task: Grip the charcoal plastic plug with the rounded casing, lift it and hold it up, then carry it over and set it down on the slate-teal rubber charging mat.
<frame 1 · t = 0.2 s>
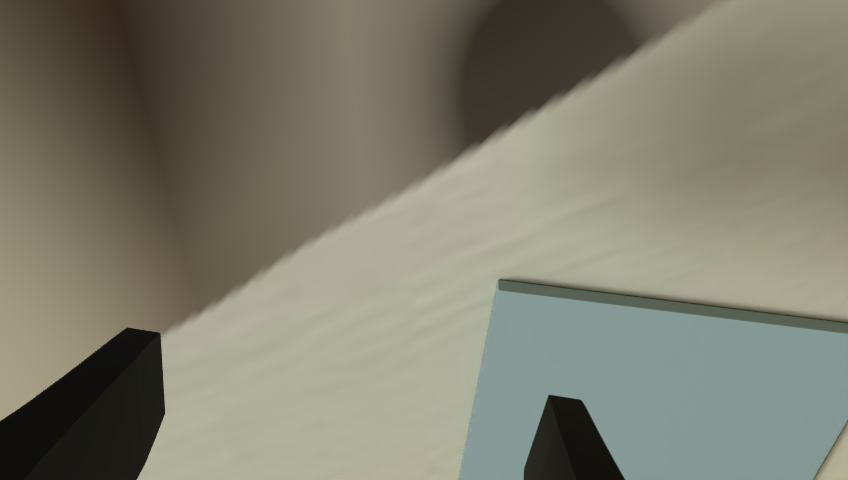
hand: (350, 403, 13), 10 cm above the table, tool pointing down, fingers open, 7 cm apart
charging mat: (640, 439, 27), on the table
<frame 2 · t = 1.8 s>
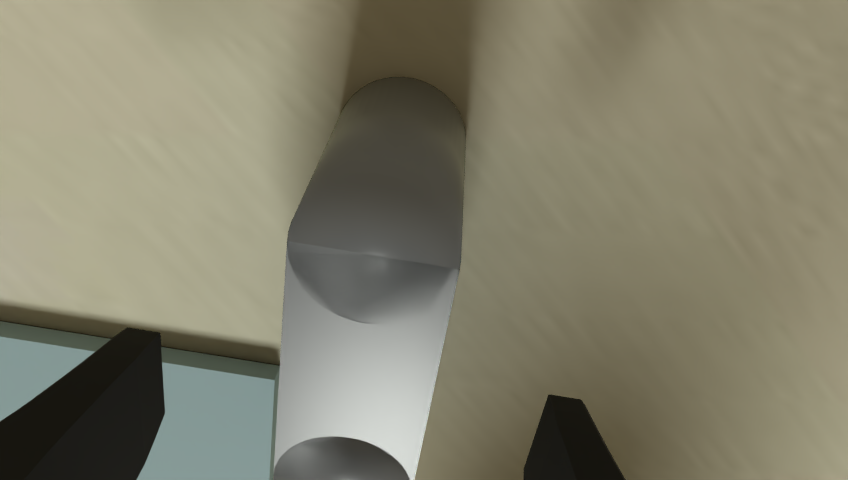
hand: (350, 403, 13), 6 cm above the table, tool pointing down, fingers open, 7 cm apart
plug: (385, 248, 18), on the table
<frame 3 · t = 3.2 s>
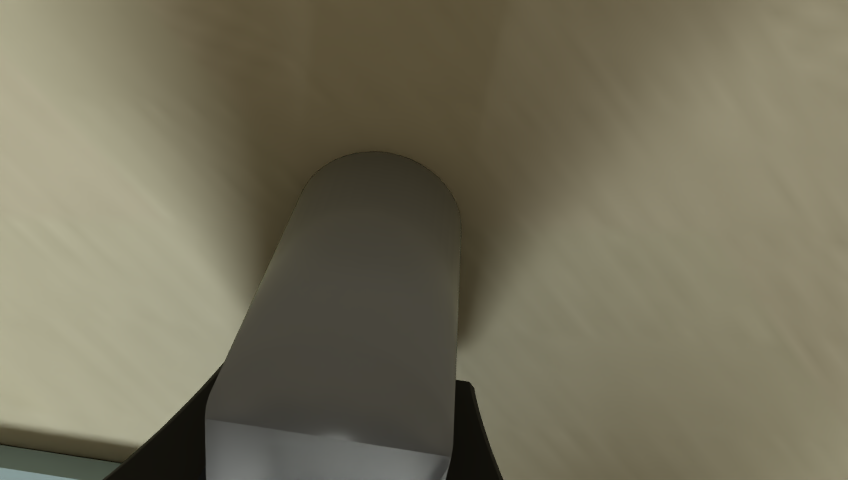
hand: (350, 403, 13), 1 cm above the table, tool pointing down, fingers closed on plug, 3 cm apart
plug: (361, 353, 14), on the table, touching gripper
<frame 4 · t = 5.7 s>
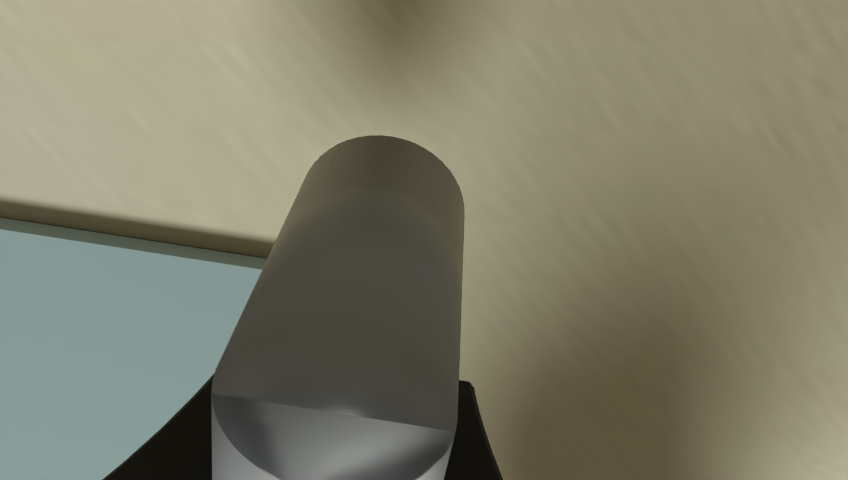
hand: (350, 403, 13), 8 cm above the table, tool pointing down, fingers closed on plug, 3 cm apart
charging mat: (149, 392, 25), on the table
plug: (364, 338, 14), point 7 cm above the table, touching gripper
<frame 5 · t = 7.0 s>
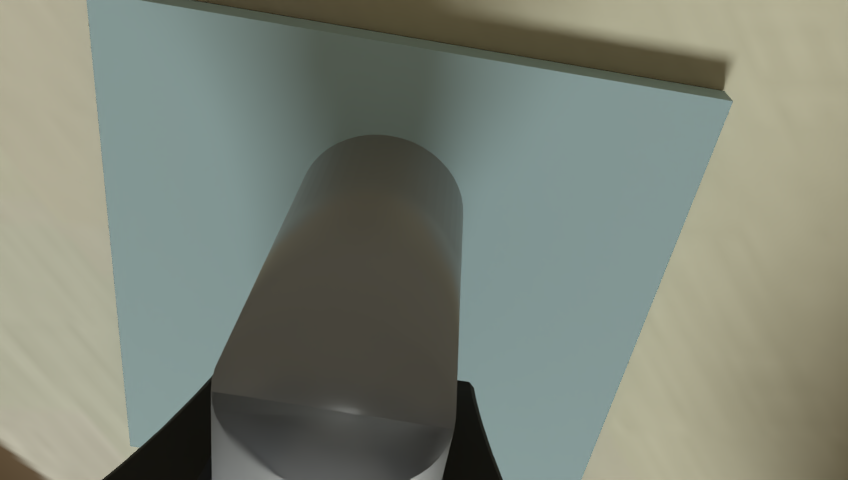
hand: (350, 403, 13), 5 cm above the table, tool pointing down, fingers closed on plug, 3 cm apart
charging mat: (378, 291, 18), on the table
plug: (363, 337, 14), point 3 cm above the table, touching gripper
when the fingers open (3 cm above the table, at t = 8.0 s): plug drops 1 cm, resting on charging mat.
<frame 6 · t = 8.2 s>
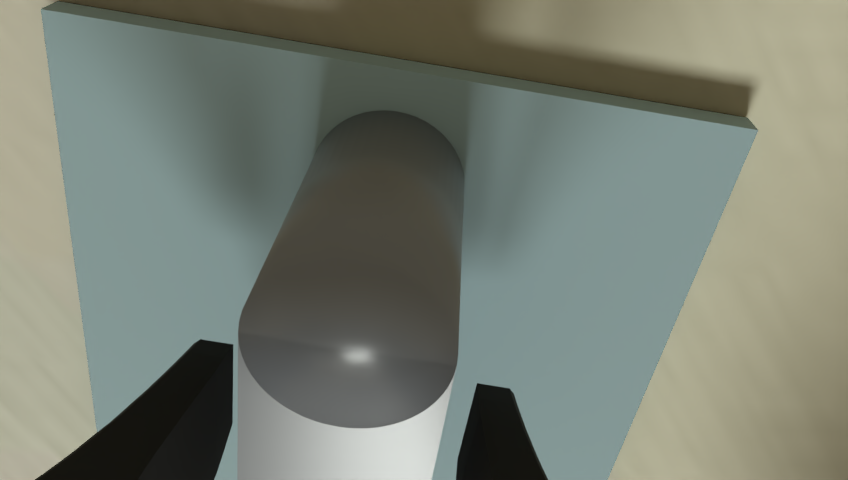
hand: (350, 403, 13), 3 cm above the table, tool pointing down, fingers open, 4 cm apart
charging mat: (368, 329, 17), on the table
plug: (371, 304, 15), point 1 cm above the table, touching charging mat
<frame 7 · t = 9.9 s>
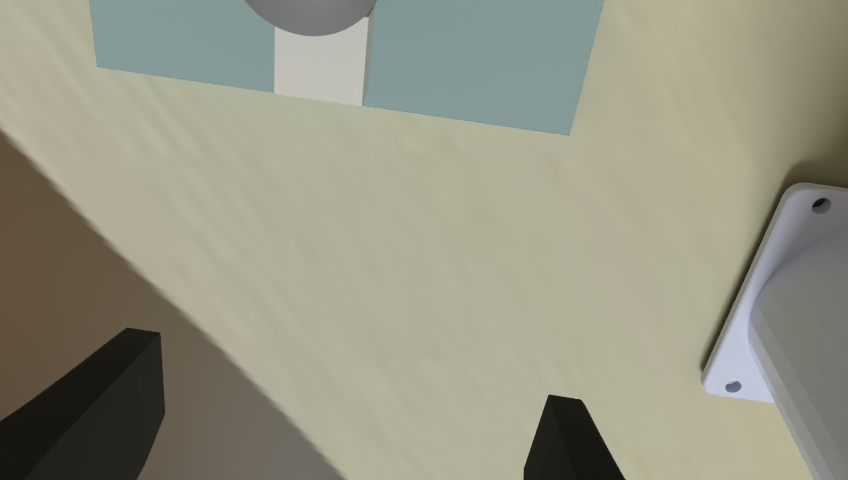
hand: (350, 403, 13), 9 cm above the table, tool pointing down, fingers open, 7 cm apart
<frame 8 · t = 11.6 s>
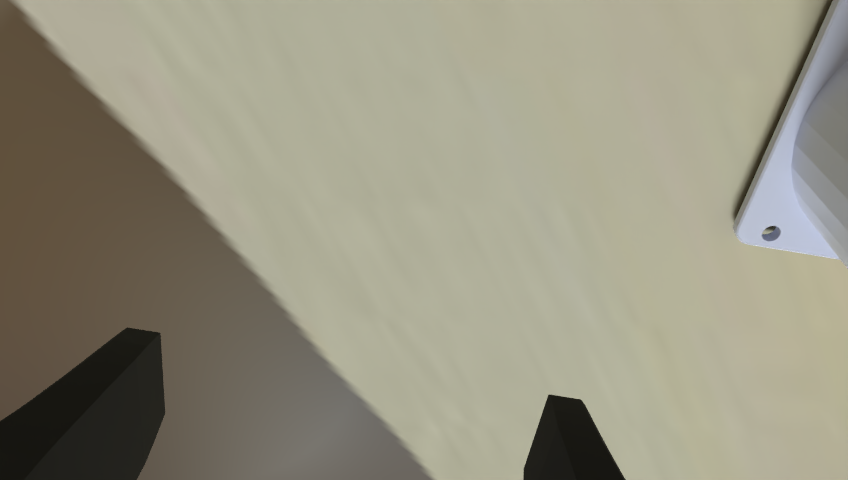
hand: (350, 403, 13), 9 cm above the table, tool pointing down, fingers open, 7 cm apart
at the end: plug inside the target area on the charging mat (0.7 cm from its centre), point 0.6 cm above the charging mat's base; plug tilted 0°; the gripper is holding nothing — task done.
